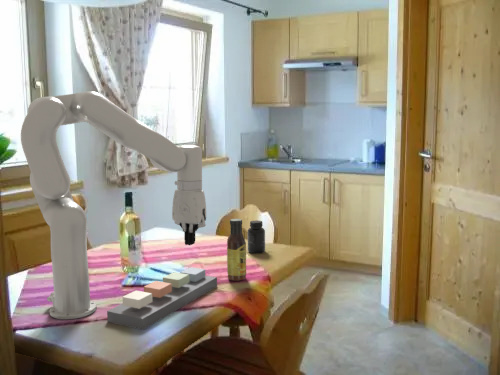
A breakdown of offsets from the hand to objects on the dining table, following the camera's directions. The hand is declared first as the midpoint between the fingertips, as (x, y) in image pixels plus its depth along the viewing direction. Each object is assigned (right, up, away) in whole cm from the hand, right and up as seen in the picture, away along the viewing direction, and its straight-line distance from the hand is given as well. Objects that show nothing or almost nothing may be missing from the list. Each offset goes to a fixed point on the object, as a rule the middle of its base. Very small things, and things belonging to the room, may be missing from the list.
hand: (189, 244), depth 170 cm
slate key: (+1, -11, +2) cm, 11 cm away
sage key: (-3, -11, -6) cm, 13 cm away
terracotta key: (-8, -13, -14) cm, 20 cm away
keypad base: (-6, -16, -10) cm, 20 cm away
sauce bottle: (+14, -13, +11) cm, 22 cm away
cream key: (-12, -14, -22) cm, 28 cm away
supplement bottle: (+21, -8, +43) cm, 49 cm away
